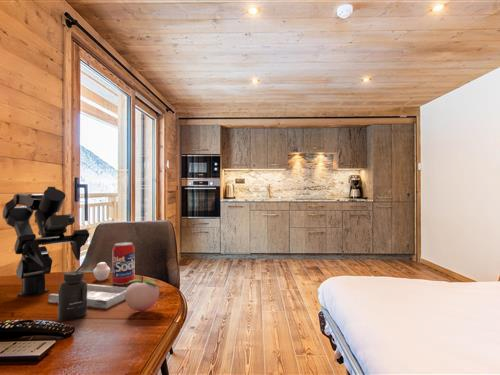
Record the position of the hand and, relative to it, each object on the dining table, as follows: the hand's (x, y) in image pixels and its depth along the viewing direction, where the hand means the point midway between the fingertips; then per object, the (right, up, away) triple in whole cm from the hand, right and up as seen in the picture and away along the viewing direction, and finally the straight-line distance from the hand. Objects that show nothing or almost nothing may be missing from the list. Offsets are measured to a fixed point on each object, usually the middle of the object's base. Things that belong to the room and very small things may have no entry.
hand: (61, 262), depth 86 cm
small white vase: (-4, -15, +31) cm, 34 cm away
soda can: (+7, -15, +26) cm, 30 cm away
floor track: (+4, -14, +9) cm, 17 cm away
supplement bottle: (+7, -14, -5) cm, 16 cm away
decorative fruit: (+25, -14, -3) cm, 29 cm away
